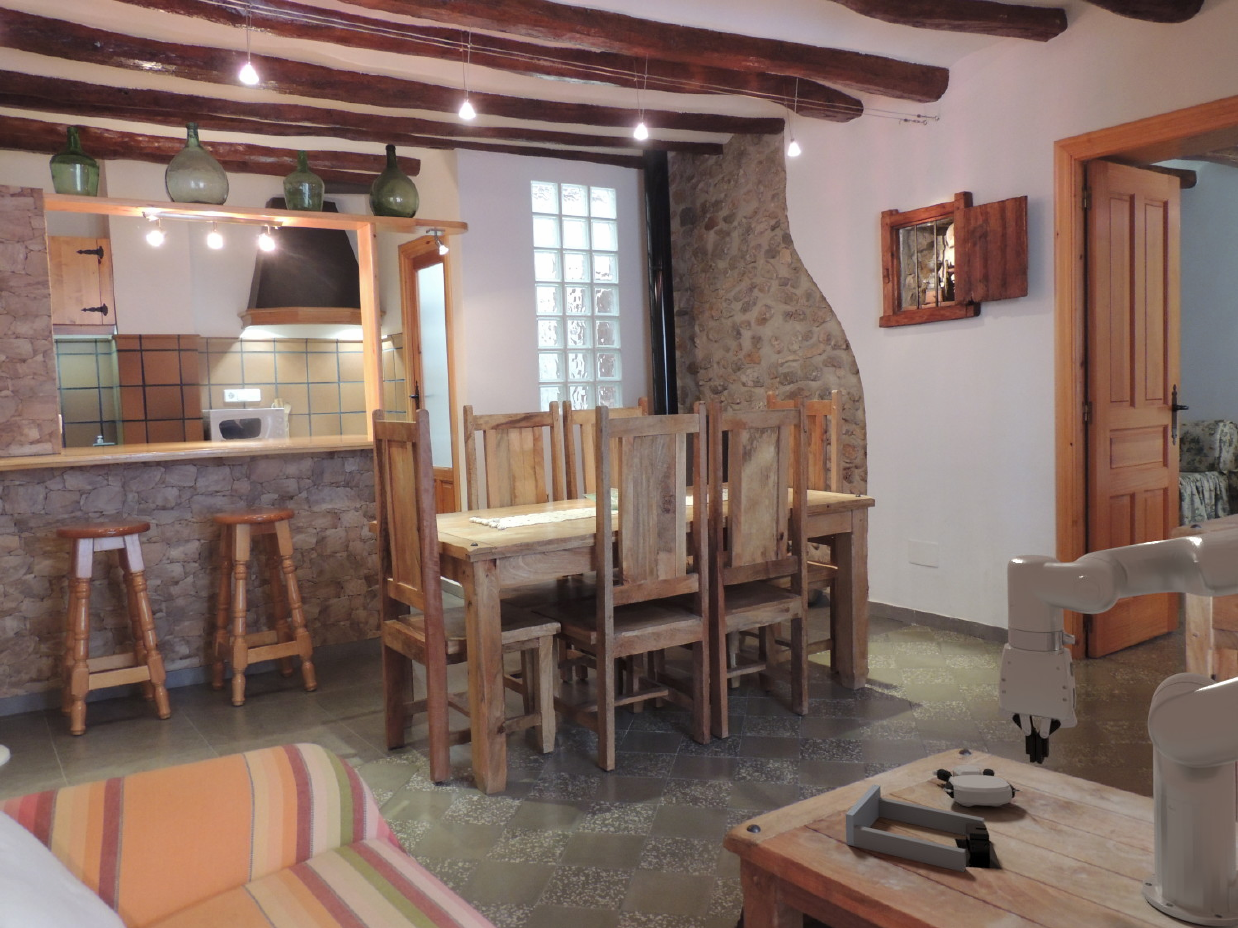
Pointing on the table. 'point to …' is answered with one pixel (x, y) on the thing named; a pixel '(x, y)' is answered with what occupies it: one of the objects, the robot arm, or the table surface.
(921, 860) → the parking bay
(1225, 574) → the robot arm
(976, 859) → the black bracket part
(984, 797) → the robot toy
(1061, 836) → the table surface
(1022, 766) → the table surface
